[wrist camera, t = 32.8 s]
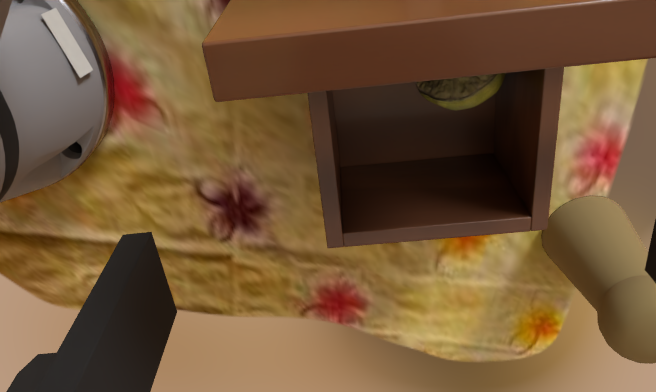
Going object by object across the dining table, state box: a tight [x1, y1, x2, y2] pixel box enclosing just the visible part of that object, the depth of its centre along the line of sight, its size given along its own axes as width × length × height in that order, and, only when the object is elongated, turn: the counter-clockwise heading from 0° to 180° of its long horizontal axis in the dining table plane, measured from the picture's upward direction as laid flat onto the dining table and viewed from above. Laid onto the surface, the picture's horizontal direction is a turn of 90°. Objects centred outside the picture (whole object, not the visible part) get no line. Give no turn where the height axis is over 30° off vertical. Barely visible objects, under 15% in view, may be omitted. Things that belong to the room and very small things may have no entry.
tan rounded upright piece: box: [542, 196, 656, 363], centre depth 35 cm, size 6×6×11 cm
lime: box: [415, 73, 506, 110], centre depth 30 cm, size 4×5×5 cm
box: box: [308, 67, 564, 248], centre depth 30 cm, size 16×12×9 cm
